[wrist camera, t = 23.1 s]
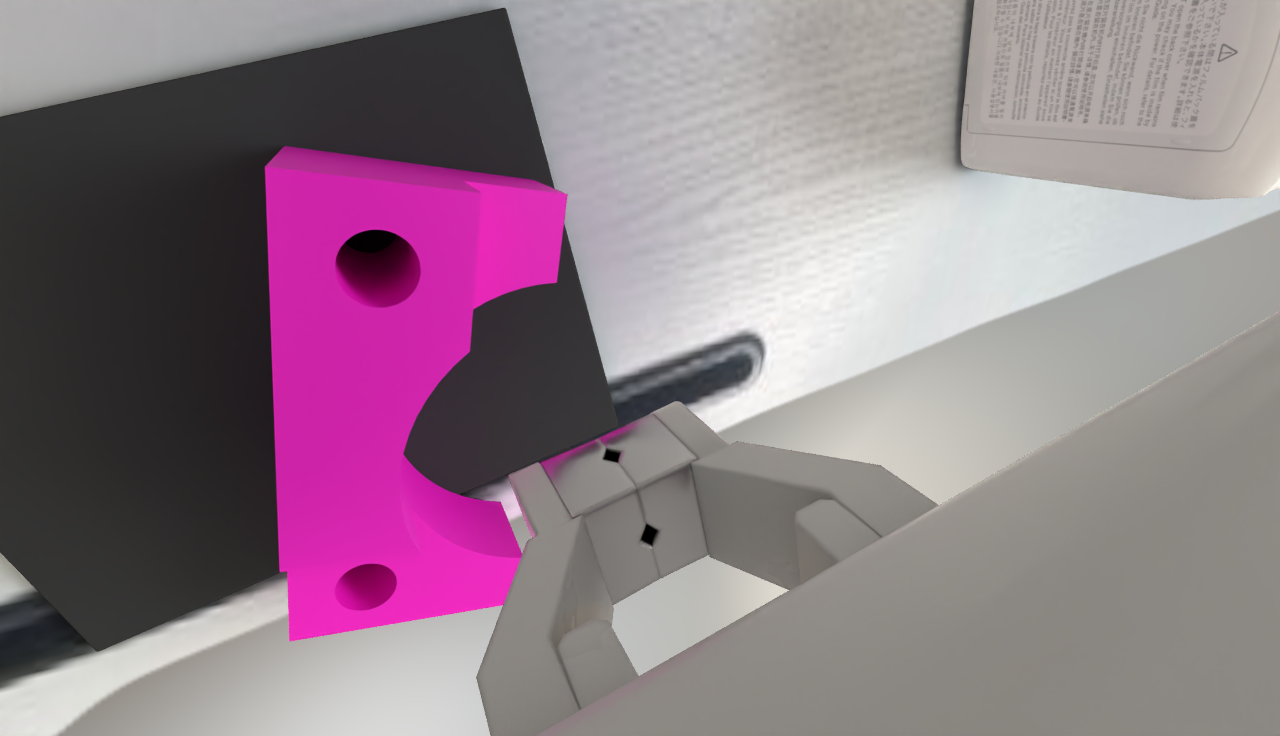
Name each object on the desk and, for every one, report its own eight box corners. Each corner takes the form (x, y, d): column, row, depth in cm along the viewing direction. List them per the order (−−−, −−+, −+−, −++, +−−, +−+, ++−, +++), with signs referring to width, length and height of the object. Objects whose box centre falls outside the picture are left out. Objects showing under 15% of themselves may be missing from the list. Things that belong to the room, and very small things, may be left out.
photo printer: (1012, 163, 32) (1342, 196, 21) (948, 181, 30) (1268, 226, 20) (1043, -83, 27) (1487, -193, 17) (970, -74, 26) (1402, -188, 15)
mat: (101, 642, 22) (96, 652, 21) (-332, 189, 14) (-352, 192, 14) (614, 420, 27) (619, 425, 27) (502, 8, 20) (506, 7, 19)
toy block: (265, 166, 13) (597, 206, 16) (284, 145, 18) (533, 179, 22) (284, 704, 18) (536, 652, 21) (295, 567, 23) (496, 542, 26)
